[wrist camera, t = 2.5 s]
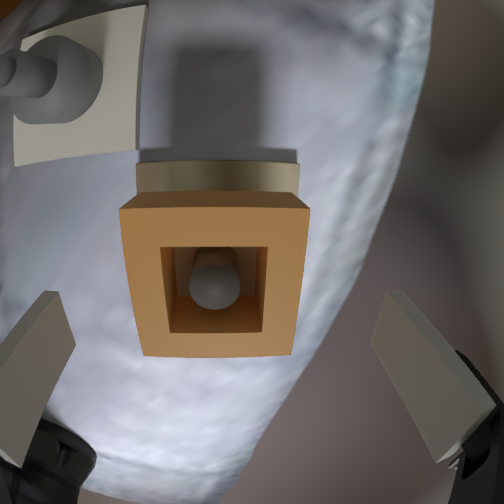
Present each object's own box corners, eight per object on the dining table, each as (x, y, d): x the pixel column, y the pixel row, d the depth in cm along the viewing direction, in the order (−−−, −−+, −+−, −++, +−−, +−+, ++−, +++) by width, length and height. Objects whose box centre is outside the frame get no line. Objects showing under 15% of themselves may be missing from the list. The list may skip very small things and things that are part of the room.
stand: (148, 280, 24) (116, 360, 15) (139, 162, 20) (81, 186, 11) (286, 279, 25) (320, 358, 16) (296, 162, 21) (351, 186, 12)
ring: (154, 318, 17) (143, 355, 14) (140, 192, 14) (118, 209, 11) (279, 318, 18) (291, 354, 15) (291, 192, 15) (310, 208, 12)
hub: (21, 165, 18) (-57, 191, 9) (28, 41, 14) (-42, 21, 5) (139, 149, 20) (79, 164, 11) (148, 9, 15) (108, -54, 6)
